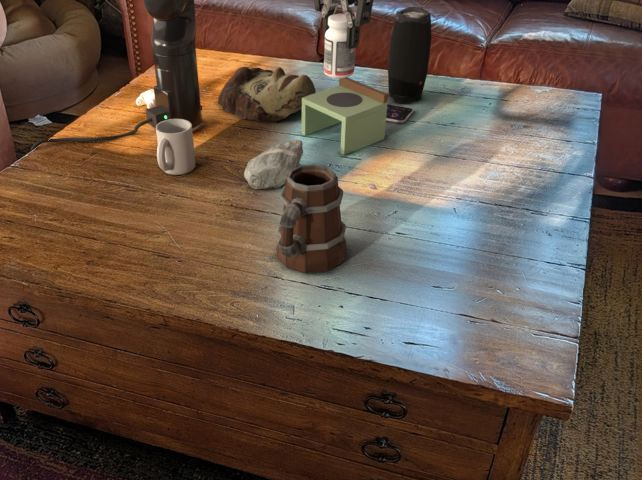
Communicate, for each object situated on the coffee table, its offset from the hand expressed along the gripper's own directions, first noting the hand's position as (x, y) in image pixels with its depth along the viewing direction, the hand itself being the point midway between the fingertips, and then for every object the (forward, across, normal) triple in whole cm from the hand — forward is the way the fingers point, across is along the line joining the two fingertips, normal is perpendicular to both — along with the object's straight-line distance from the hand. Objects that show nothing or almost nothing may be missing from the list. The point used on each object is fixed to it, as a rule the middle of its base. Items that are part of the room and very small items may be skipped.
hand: (340, 42), depth 133 cm
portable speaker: (+25, +17, -38) cm, 48 cm away
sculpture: (+26, +35, -10) cm, 45 cm away
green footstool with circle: (+25, +10, -12) cm, 29 cm away
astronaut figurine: (+26, +55, +9) cm, 61 cm away
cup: (+26, +21, +26) cm, 42 cm away
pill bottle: (+6, 0, 0) cm, 6 cm away
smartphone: (+25, +15, -26) cm, 39 cm away
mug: (+25, -22, +26) cm, 42 cm away
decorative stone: (+25, +5, +11) cm, 28 cm away
